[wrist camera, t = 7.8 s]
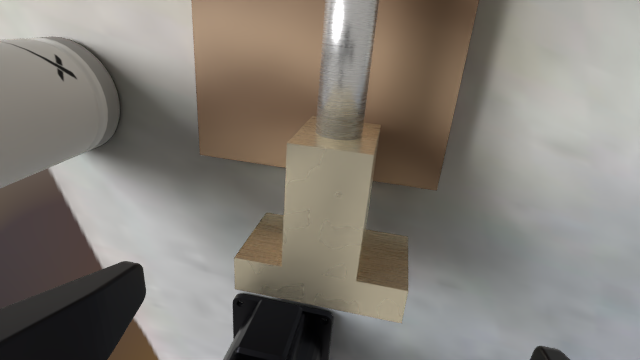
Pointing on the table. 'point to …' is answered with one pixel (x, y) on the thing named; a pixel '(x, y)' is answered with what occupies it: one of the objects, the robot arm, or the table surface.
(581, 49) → the table surface
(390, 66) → the copper board
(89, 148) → the travel mug
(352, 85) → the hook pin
